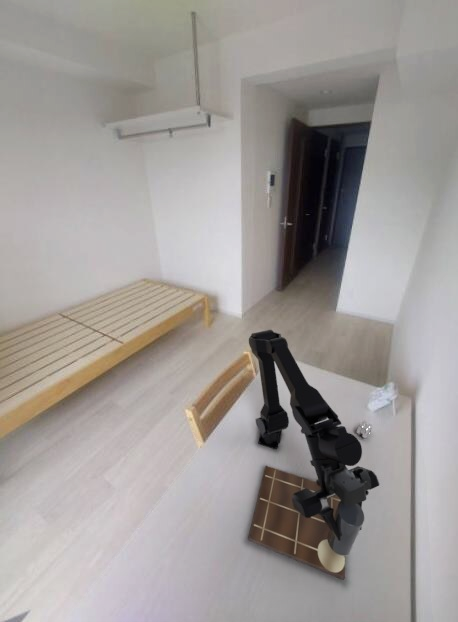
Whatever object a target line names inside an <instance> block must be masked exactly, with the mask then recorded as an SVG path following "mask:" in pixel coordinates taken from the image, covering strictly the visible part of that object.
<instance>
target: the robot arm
mask: <svg viewBox="0 0 458 622" xmlns="http://www.w3.org/2000/svg"><path fill="white" fill-rule="evenodd" d="M288 343H289V342H288V341H287V339H286V338H285V337H284V336H282V334H281V333H279V332H274V330H272V329H267V330H262V331H261V330H260V331H256V332H252V333H251V335H250V336H249V338H248V345H249V347H250V350H251V353H252V354H253V356H254V357H255V358H256V359H257V361H258V362H257V363H258V368H259V375H260V376H259V377H260V383H261V384H260V385H261V389H262V390H261V391H262V398H263V406H262V408H261V409H260V411H259V412H260V413H259V414H260V415H259V416H260V417H257V418H255V425H256V427H257V429H258V431H259V437H258V441H257V443H258V445H261V446H264V447H267V448H271V449H274V450H278V449H279V445H280V444H281V441H282V434H283V430H287V428H288V427H289V424H290V421H289V417H288V412H287V411H286V409H284V408H283V406H282V405H281V402H280V396H279V395H280V394H279V386H278V380H277V379H278V378H277V371H276V367H277V369H278V371H279V373H280V376H281V378H282V379H283V381H284V383H285V386H286V387H287V390H288V392H289V394H290V396H289V397H290V399H289V406H290V409H291V413H292V416H293V419H294V421H295V422H296V423H297V424H298V425H299V427H300V428H301V429H300V433H301V434H304V436H305V441H306V444H307V447H308V450H309V453H310V456H311V460H309V462H310V465H311V466H312V467H314V470H315V474H316V478H317V479H316V480H315V482H317V485H318V486H320V487H321V489H320V490H318V491H316V492H312V491H310V490H309V489H307V488H305V489H303V490H301V491H298V492H296V493H293V497H292V502H293V506H294V508H295V509H296V510H297V511H298V512H299V513H301V514H302V515H303V516H304V517H305V518H310V517H312V516H314V515H317V514H319V515H320V516H321V517H322V518H323V520H324V521H325V523H326V524H327V526H328V527H329V529H330V530H331V532H332V533H333V535H334V536H335V537H336V539H337V540H338V541H340V540H341V539H340V534H339V531H338V528H337V525H336V522H335V519H334V517H333V511H334V509H333V508H331V507H330V506H329V505H328V502H327V499H328V498H330V497H333V496H335V495H337V496H338V497H339V498H340V499H341V500H342V501H343V503H344V504H345V505H346V506H349V507H352V506H355V504H358V505H359V506H360V507H361V509H362V510H363V508H362V506H363V502H365V501H366V500H367V496H368V495H369V494H370V493H369V490H373V489H375V488H377V487H380V482H379V479H378V476H377V474H376V473H375V472H374V471H373V470H371V469H368V468H365V467H362V466H359V465H358V463H359V462H360V461H361V459H362V455H363V447H362V444H361V442H360V441H359V440H358V438H357V436H355V435H354V434H352V433H350V432H348V431H347V428H346V426H343V425H342V421H341V420H340V419H339V415H338V414H337V413H336V412H335V411H334V410H333V409H332V408H331V406H330V405H329V404H328V402H327V401H326V400H325V399H324V397H323V396H322V394H321V393H320V391H319V390H318V389H317V388H315V387H313V386H312V385H310V384H309V382H308V381H307V379H306V378H305V376H304V374H303V372H302V370H301V369H300V366H299V364H298V363H297V361H296V359H295V357H294V355H293V354H292V352H291V349H290V348H289V344H288ZM356 465H357V466H356ZM347 466H348V467H352V468H350V469H348V467H347ZM362 526H363V525H362ZM362 526H361V529H360V531H362V528H363V527H362Z"/></svg>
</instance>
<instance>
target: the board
mask: <svg viewBox="0 0 458 622" xmlns="http://www.w3.org/2000/svg"><path fill="white" fill-rule="evenodd" d="M259 488H260V489H259V493H258V497H257V501H256V506H255V509H254V514H253V518H252V522H251V527H250V531H249V535H248V541H249V542H250V543H253V544H256V545H259V546H261V547H263V548H266V549H268V550H270V551H273V552H275V553H277V554H280V555H283V556H285V557H287V558H289V559H292V560H294V561H296V562H298V563H299V562H300V563H302V564H304V565H307V566H309V567H310V568H311V567H312V568H313V569H316V570H318V571H321V572H323V573H326V574H328V575H331V576H333V577H335V578H337V579H339V580H342V581H345V578H346V555H344V556H342V555H338V554H337V553H335V552H334V551H333V550H332V549H331V547H330V546H329V543H328V539H327V535H328V532H329V527H328V526H327V524H326V523H325V521H324V520H323V518H322V517H321V516H320V515H319V514H317V515H314V516H312V517H310V518H305V517H304V516H303V515H302V514H301V513H299V512H298V511H297V510H296V509H295V508H294V506H293V502H292V497H293V493H296V492H298V491H301V490H303V489H305V488H307V489H309V490H310V491H312V492H316V491H318V490H320V489H321V487H320V486H318V485H317V482H316V481H315V480H312V479H308V478H305V477H303V476H299V475H297V474H296V475H295V474H292V473H289V472H287V471H284V470H280V469H277V468H274V467H271V466H268V465H265V467H264V471H263V475H262V481H261V485H260V487H259ZM340 501H341V499H340V498H339V497H338V496H337V495H335V496H333V497H330V498H328V499H327V502H328V505H329V506H330V507H331V508H333V509H334V511H333V517H334V515H335V512H336V509H337V506H338V503H339V502H340Z"/></svg>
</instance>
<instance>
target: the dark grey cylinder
mask: <svg viewBox="0 0 458 622" xmlns="http://www.w3.org/2000/svg"><path fill="white" fill-rule="evenodd" d="M334 519H335V522H336V525H337V528H338V531H339V534H340V539H341V540H340V541H338V540H337V539H336V537H335V536H334V535H333V533H332V532H331V530H330V529H329V532H328V535H327V539H328V543H329V546H330V547H331V549H332V550H333V551H334V552H335V553H337V554H338V555H342V556H344V555H345V556H347V555H349V553H350V552H351V550H352V547H353V546H354V544H355V542H356V539H357V537H358V536H359V532H360V531H361V530H362V529H361V526H363V524H364V522H365V513H364V510H363V508H362V509H361V507H360V506H359V505H358V504H355V506H352V507H349V506H346V505H345V504H344V503H343V501H342V500H341V501H340V502H339V503H338V506H337V509H336V512H335V515H334ZM360 529H361V530H360Z"/></svg>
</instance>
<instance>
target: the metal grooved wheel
mask: <svg viewBox="0 0 458 622" xmlns="http://www.w3.org/2000/svg"><path fill="white" fill-rule="evenodd" d="M372 431H373V425H372V424H371V423H369V424H368V421H367V420H365V419H364V420H362V421H361V422H360V424H359V426H357V429H356V434H357V435H362V436H361V437H362V438H363V439H366V438H368V437H369V436H370V434H371V432H372Z"/></svg>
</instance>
